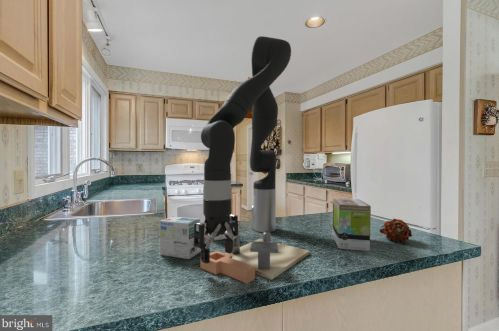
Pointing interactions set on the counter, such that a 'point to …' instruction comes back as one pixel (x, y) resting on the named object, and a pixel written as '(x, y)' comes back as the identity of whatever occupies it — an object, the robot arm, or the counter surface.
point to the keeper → (264, 252)
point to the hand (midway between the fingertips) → (217, 257)
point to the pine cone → (396, 230)
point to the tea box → (351, 224)
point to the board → (272, 259)
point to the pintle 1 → (236, 245)
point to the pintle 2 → (266, 237)
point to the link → (229, 267)
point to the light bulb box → (178, 237)
